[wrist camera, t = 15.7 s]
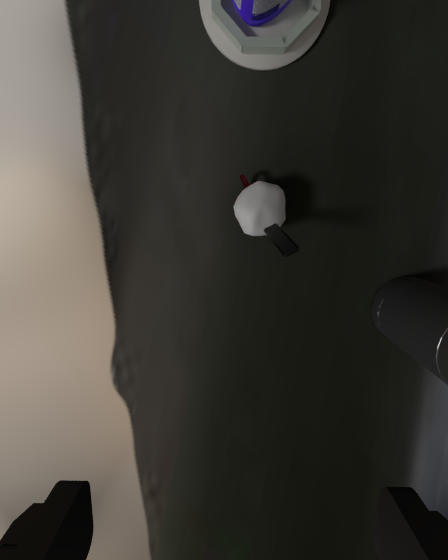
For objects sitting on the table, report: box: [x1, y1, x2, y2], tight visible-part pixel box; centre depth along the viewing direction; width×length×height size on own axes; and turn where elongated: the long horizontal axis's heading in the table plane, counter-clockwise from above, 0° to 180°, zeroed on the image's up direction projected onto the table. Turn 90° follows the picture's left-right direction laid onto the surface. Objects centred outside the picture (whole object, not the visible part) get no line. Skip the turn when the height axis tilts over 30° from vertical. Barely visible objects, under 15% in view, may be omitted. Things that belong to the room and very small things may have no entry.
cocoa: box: [234, 175, 299, 257], centre depth 37 cm, size 10×6×12 cm, turn 6°
